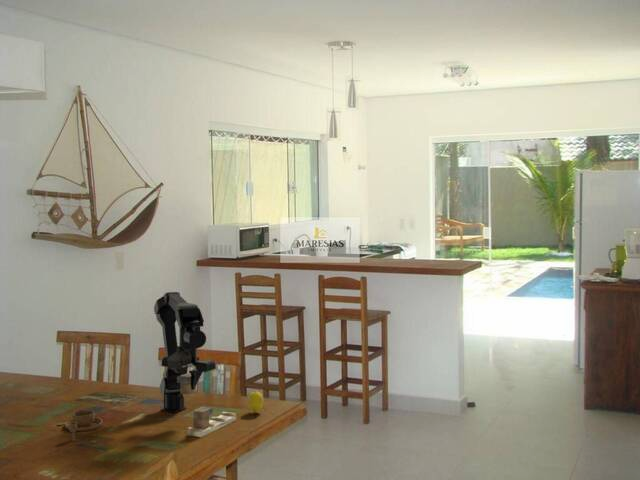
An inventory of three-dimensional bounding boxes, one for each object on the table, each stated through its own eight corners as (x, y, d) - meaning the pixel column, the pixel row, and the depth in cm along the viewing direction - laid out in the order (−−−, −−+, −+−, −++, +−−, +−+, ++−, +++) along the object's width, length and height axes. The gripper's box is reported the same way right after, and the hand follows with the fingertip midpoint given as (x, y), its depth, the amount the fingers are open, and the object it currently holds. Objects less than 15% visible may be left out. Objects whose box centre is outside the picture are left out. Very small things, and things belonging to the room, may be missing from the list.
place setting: (117, 425, 254) (117, 408, 254) (75, 443, 236) (75, 425, 236) (76, 419, 262) (75, 402, 261) (32, 436, 243) (31, 418, 243)
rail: (188, 434, 244) (187, 411, 243) (223, 418, 262) (223, 396, 262) (200, 437, 242) (200, 413, 241) (236, 420, 260) (236, 398, 259)
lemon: (261, 415, 265) (261, 393, 265) (245, 414, 266) (245, 392, 266) (265, 411, 270) (265, 389, 270) (250, 410, 272) (250, 388, 271)
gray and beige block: (177, 394, 253) (176, 376, 253) (187, 391, 258) (187, 373, 258) (185, 396, 252) (185, 378, 251) (195, 392, 256) (195, 374, 256)
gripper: (150, 344, 252) (150, 390, 253) (195, 349, 243) (195, 398, 244) (172, 338, 262) (172, 383, 263) (216, 343, 253) (216, 390, 254)
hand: (188, 388), depth 256 cm, fingers closed on gray and beige block, 4 cm apart
